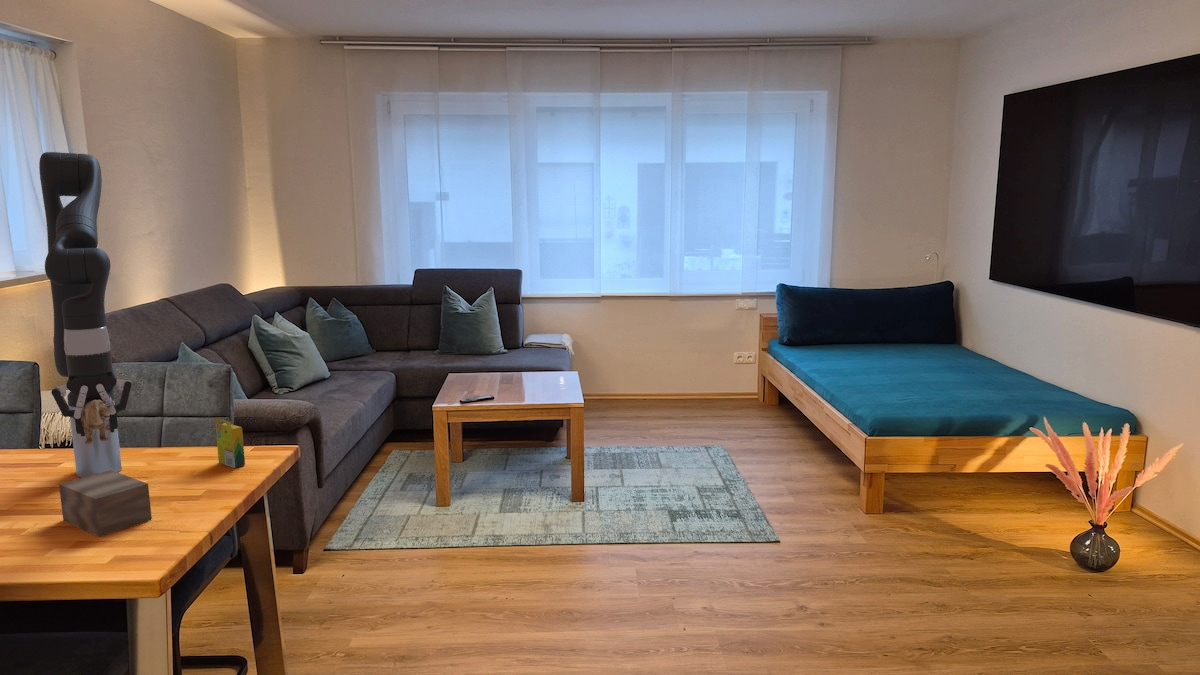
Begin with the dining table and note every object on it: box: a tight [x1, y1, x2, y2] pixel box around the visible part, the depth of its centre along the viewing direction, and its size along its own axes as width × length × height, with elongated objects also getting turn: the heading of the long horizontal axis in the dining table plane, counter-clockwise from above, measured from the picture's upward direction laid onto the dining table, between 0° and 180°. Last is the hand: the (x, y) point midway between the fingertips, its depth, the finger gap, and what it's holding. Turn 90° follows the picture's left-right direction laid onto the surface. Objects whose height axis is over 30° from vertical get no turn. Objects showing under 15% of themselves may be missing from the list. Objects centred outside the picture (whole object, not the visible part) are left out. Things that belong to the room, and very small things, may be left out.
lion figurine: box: [81, 400, 112, 444], centre depth 160 cm, size 15×5×9 cm, turn 35°
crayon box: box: [214, 417, 246, 469], centre depth 195 cm, size 7×3×12 cm, turn 54°
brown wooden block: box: [58, 470, 153, 538], centre depth 162 cm, size 15×10×8 cm, turn 57°
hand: (97, 433), depth 159 cm, fingers closed on lion figurine, 4 cm apart
